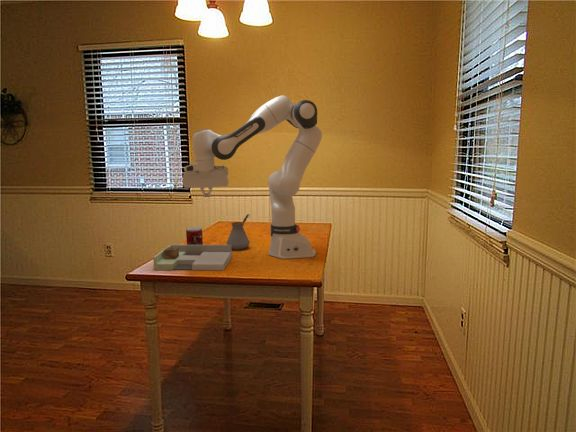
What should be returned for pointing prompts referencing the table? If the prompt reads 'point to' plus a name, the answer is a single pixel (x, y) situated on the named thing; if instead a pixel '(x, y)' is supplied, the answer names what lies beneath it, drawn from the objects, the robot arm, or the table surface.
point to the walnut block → (171, 252)
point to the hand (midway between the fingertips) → (207, 197)
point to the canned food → (194, 236)
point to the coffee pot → (238, 236)
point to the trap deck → (195, 258)
